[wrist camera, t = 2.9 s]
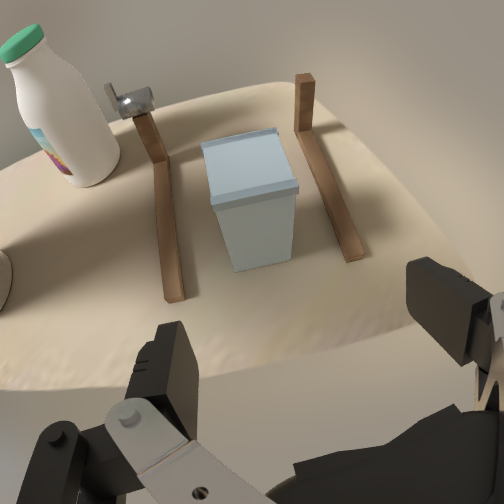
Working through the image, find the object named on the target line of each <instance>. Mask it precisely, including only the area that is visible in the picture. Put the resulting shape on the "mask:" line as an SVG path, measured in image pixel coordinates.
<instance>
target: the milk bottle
mask: <svg viewBox="0 0 504 504" xmlns="http://www.w3.org/2000/svg"><path fill="white" fill-rule="evenodd" d="M0 58H1V59H2V61H3V62H4V63H5V64H6V68H10V69H11V71H12V73H13V76H14V80H15V85H16V93H17V102H18V107H19V111H20V114H21V116H22V118H23V120H24V122H25V124H26V125H27V127H28V128H29V130H30V131H31V133H32V134H33V136H34V137H35V138H36V140H37V141H38V143H39V144H40V145H41V147H42V148H43V149H44V151H45V152H46V153H47V155H48V156H49V157H50V158H51V160H52V161H53V162H54V164H55V165H56V166H57V167H58V169H59V170H60V171H61V172H62V174H63V175H64V176H65V177H66V179H67V180H68V181H69V182H70V183H71V184H72V185H74V186H77V187H89V186H93V185H95V184H97V183H99V182H100V181H102V180H103V179H105V178H106V177H107V176H108V175H109V174H110V173H111V172H112V171H113V170H114V168H115V167H116V165H117V163H118V161H119V158H120V147H119V144H118V142H117V140H116V139H115V137H114V135H113V133H112V131H111V129H110V127H109V126H108V124H107V122H106V120H105V118H104V116H103V114H102V112H101V111H100V109H99V107H98V105H97V103H96V101H95V99H94V97H93V96H92V94H91V92H90V90H89V89H88V86H87V85H86V83H85V81H84V79H83V78H82V77H81V75H80V74H79V72H78V71H77V70H76V69H75V68H74V67H73V66H72V65H70V64H69V63H67V62H66V61H64V60H62V59H61V58H60V57H58V56H57V55H56V54H54V53H53V52H52V51H51V50H50V49H49V48H48V46H47V45H46V38H45V36H44V33H43V31H42V28H41V27H40V25H39V24H33V25H30V26H28V27H26V28H25V29H23V30H21V31H20V32H18V33H17V34H15V35H14V36H13V37H11V38H10V39H9V40H8V41H7V42H6V43H5V44H4V45H3V46H2V47H1V48H0Z"/></svg>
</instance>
